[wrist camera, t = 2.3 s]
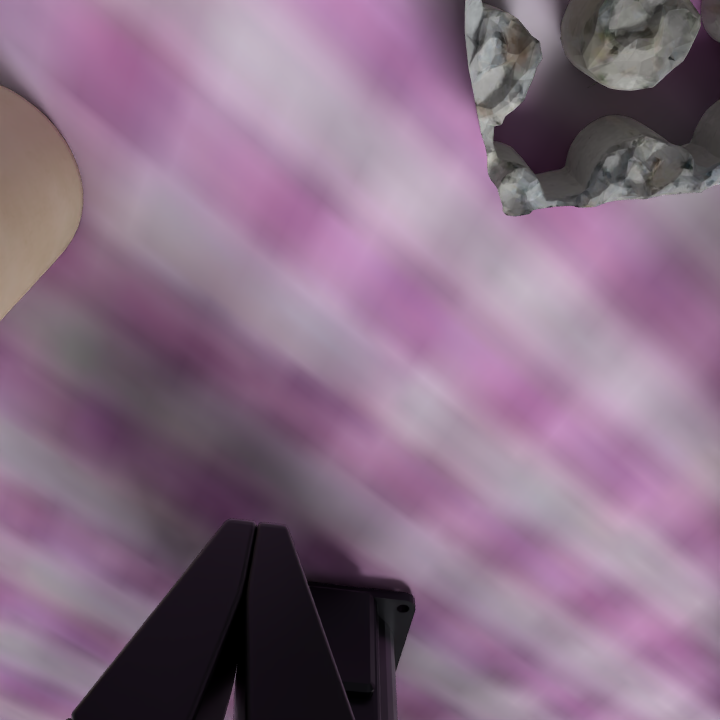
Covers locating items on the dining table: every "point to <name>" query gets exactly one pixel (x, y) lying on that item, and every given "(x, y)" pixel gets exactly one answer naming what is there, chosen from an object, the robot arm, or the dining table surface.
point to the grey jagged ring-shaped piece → (603, 64)
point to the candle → (33, 196)
